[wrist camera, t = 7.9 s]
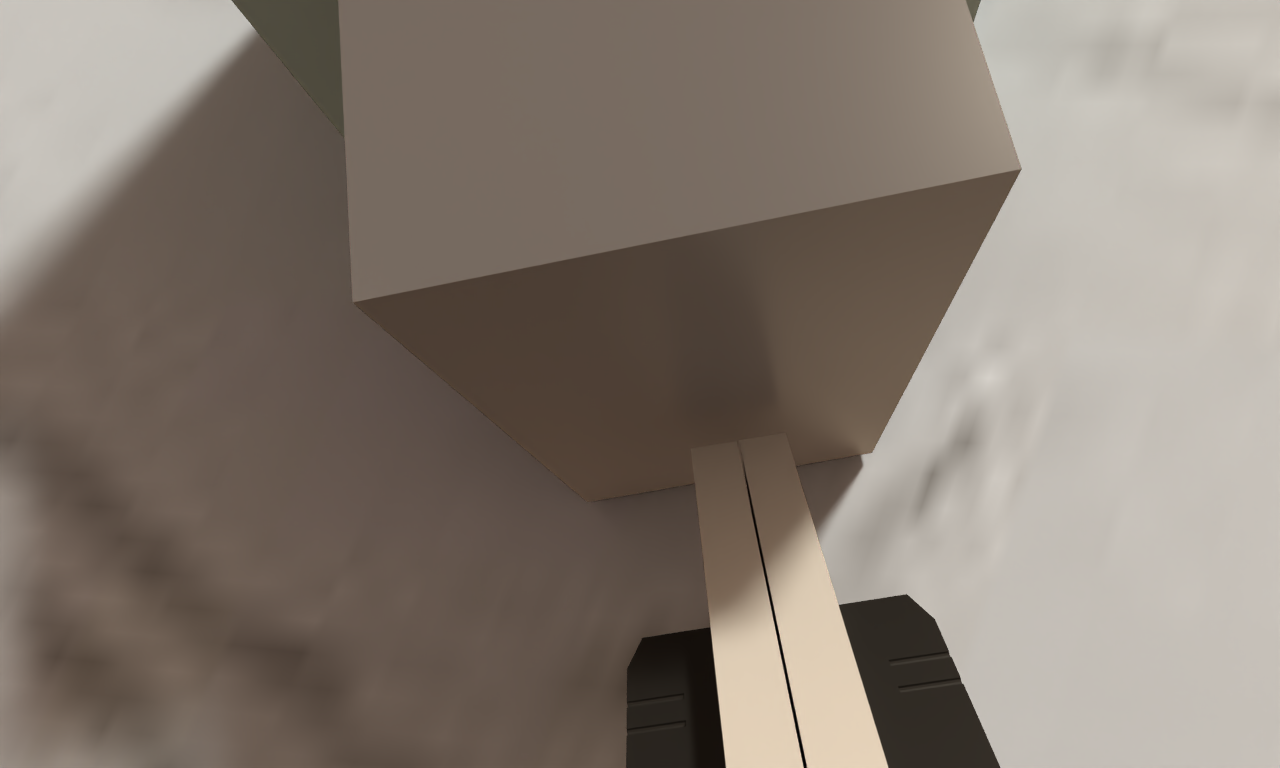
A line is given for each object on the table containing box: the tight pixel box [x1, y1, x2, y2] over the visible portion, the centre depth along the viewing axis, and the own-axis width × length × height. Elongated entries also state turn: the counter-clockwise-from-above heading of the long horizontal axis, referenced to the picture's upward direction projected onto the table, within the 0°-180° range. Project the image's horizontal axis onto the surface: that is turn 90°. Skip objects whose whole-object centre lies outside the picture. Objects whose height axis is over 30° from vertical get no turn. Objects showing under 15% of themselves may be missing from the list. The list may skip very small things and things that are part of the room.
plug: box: [338, 0, 1021, 502], centre depth 14 cm, size 10×6×11 cm, turn 8°
